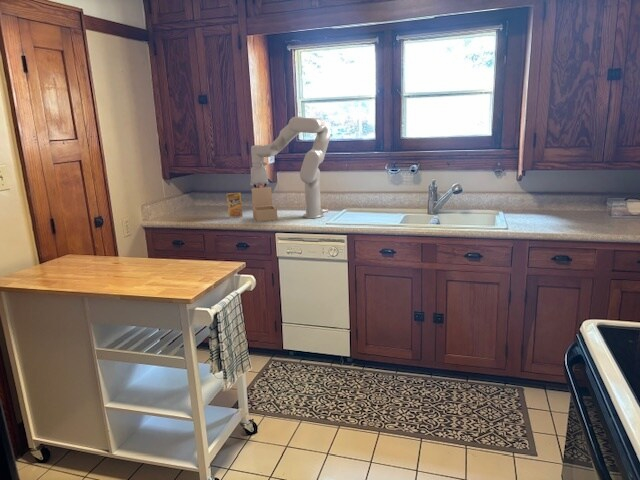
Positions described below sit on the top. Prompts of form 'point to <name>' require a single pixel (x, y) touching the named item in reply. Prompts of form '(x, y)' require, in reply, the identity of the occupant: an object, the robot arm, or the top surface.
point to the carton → (264, 213)
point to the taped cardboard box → (261, 196)
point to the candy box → (234, 205)
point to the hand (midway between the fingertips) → (260, 194)
